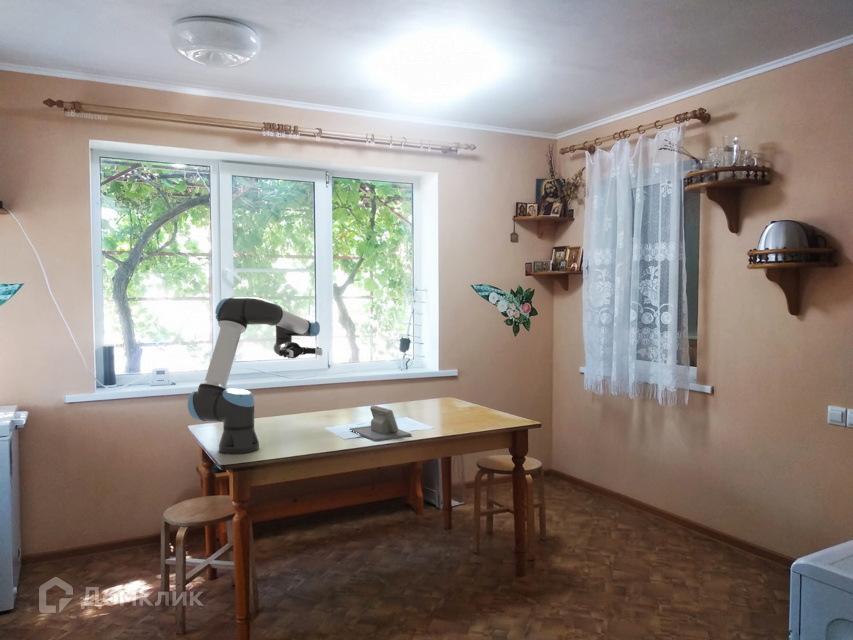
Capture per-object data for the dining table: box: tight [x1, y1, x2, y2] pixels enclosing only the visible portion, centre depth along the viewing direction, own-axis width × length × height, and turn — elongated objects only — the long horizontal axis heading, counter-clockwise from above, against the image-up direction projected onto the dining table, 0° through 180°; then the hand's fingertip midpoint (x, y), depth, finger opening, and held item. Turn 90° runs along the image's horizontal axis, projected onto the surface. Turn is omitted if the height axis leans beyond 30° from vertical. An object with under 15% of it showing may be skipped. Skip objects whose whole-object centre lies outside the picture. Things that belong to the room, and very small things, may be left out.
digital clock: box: [369, 405, 399, 434], centre depth 265 cm, size 16×9×11 cm, turn 25°
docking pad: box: [349, 425, 412, 442], centre depth 264 cm, size 18×24×1 cm
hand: (307, 353), depth 268 cm, fingers open, 13 cm apart
